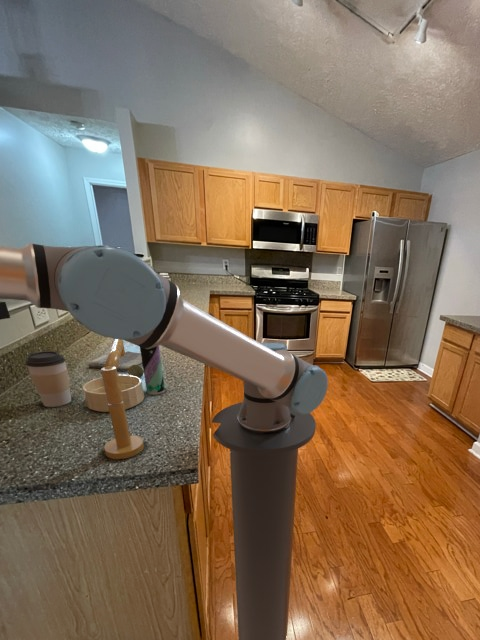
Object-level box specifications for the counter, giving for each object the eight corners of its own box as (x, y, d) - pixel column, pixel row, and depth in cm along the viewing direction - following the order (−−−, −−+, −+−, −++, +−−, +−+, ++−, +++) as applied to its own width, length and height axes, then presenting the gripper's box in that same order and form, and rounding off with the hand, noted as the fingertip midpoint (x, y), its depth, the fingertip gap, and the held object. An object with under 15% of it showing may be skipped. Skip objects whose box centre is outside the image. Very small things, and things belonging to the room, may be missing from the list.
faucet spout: (122, 403, 68) (115, 368, 65) (107, 405, 67) (99, 369, 64) (128, 363, 92) (123, 336, 88) (117, 364, 91) (112, 337, 87)
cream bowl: (153, 394, 102) (151, 377, 100) (124, 415, 89) (120, 395, 86) (110, 390, 104) (106, 373, 101) (74, 410, 90) (69, 390, 88)
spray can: (143, 393, 103) (133, 332, 95) (155, 387, 108) (146, 328, 100) (157, 396, 102) (148, 334, 93) (168, 390, 106) (160, 330, 98)
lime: (146, 378, 115) (144, 365, 113) (132, 381, 112) (130, 367, 110) (140, 374, 118) (138, 362, 116) (127, 377, 115) (125, 364, 112)
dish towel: (129, 372, 119) (128, 364, 118) (87, 367, 122) (85, 359, 120) (158, 359, 136) (157, 351, 135) (120, 355, 138) (119, 347, 137)
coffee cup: (78, 394, 99) (66, 348, 93) (72, 406, 92) (59, 356, 86) (43, 397, 96) (29, 349, 90) (34, 410, 89) (17, 358, 82)
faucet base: (150, 442, 77) (143, 397, 72) (130, 461, 70) (121, 412, 65) (120, 438, 78) (110, 394, 73) (97, 457, 70) (85, 408, 66)
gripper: (-246, 365, 36) (-18, 327, 58) (-163, 379, 34) (41, 334, 55) (-292, 298, 33) (-34, 284, 54) (-205, 308, 31) (29, 289, 52)
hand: (4, 309), depth 55 cm, fingers closed
